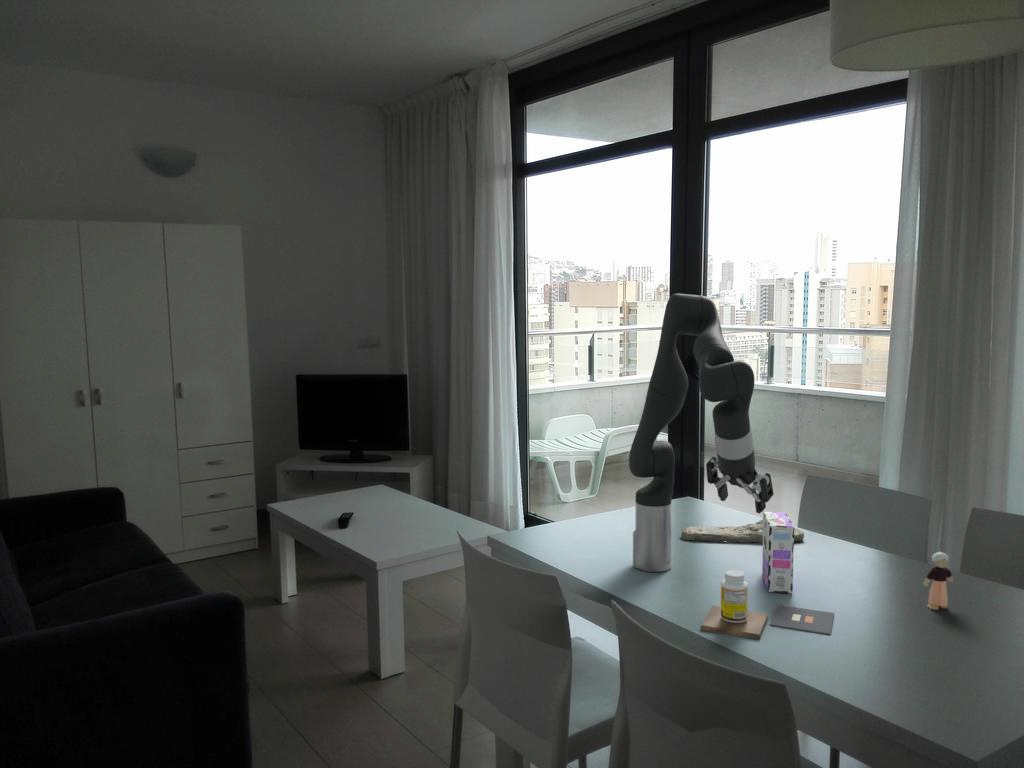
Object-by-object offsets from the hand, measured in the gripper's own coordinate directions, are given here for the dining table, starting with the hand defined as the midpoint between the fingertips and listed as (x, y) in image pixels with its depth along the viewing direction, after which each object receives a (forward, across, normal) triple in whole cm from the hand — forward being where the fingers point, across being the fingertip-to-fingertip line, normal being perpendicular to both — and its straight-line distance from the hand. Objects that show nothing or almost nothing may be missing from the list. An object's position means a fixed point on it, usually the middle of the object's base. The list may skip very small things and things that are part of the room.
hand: (741, 504), depth 172 cm
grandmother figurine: (+34, -34, -21) cm, 53 cm away
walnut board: (+20, -5, +16) cm, 26 cm away
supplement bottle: (+19, -5, +16) cm, 25 cm away
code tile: (+24, -15, +5) cm, 28 cm away
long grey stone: (+51, +23, -32) cm, 65 cm away
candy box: (+34, -1, -9) cm, 35 cm away
